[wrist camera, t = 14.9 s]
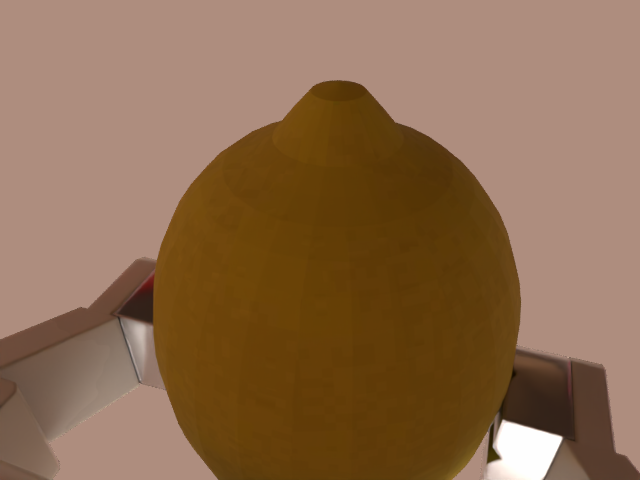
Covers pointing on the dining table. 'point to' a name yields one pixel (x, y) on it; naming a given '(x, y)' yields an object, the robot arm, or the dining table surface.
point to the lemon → (336, 301)
